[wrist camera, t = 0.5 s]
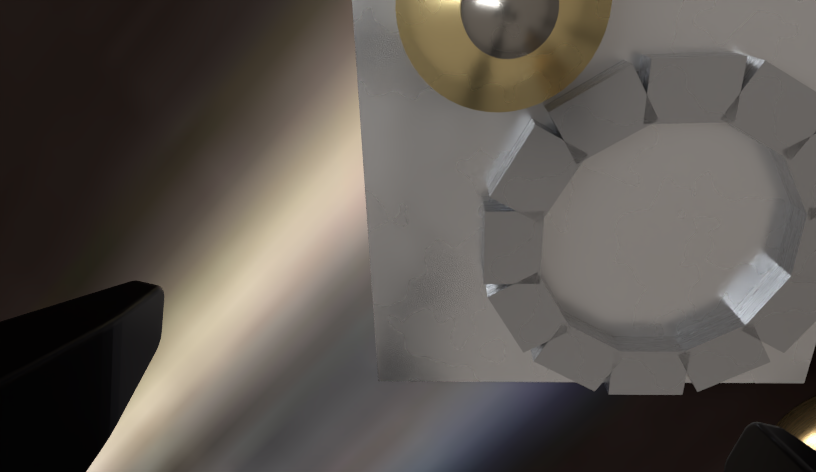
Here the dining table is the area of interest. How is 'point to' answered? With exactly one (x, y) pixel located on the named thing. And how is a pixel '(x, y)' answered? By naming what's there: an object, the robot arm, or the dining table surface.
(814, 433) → the gear
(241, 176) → the dining table surface
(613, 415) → the dining table surface
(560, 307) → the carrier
